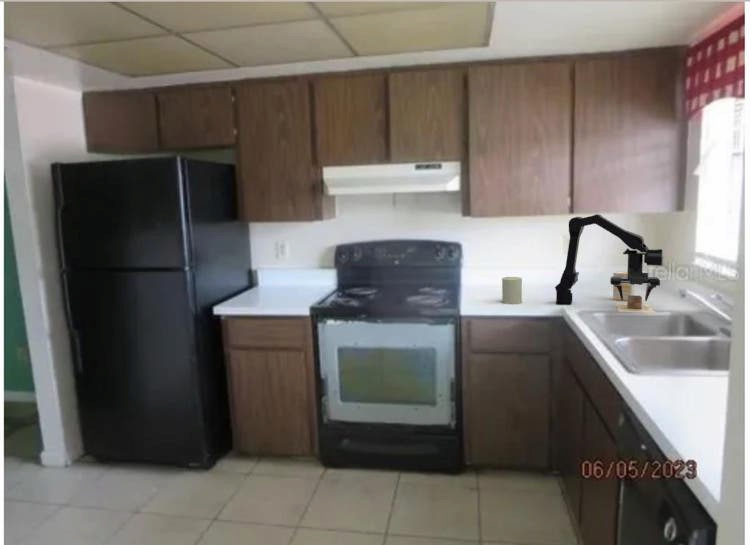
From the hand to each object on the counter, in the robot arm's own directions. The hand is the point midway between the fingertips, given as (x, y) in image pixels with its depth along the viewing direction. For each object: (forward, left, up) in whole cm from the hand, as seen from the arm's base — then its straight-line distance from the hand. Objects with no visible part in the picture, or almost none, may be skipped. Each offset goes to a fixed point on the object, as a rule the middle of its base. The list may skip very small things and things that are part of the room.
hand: (633, 300), depth 227 cm
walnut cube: (0, 0, -3) cm, 3 cm away
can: (-51, +5, -4) cm, 52 cm away
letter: (+1, 0, -3) cm, 3 cm away
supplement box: (-3, +18, -4) cm, 19 cm away
